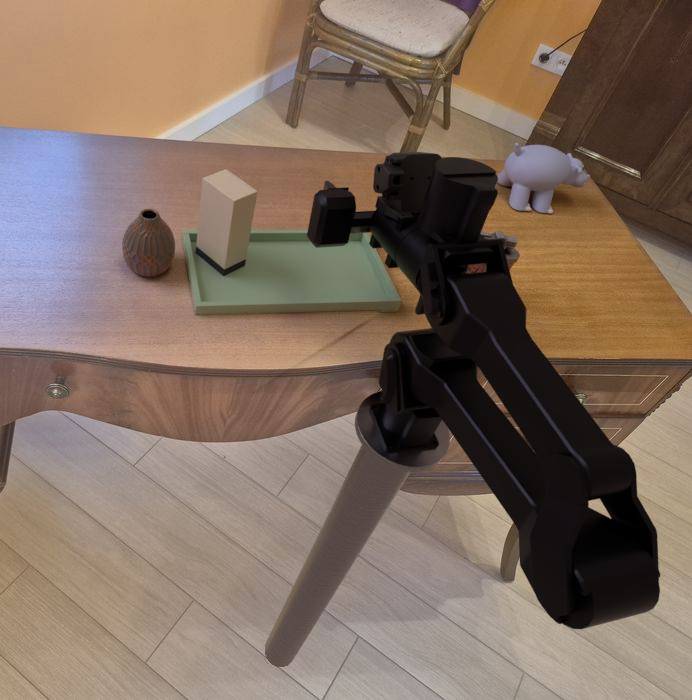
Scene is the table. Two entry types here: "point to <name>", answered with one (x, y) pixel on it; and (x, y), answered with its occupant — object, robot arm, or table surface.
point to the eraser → (225, 221)
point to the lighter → (509, 246)
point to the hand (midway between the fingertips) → (359, 182)
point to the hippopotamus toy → (539, 175)
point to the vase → (148, 244)
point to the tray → (292, 277)
